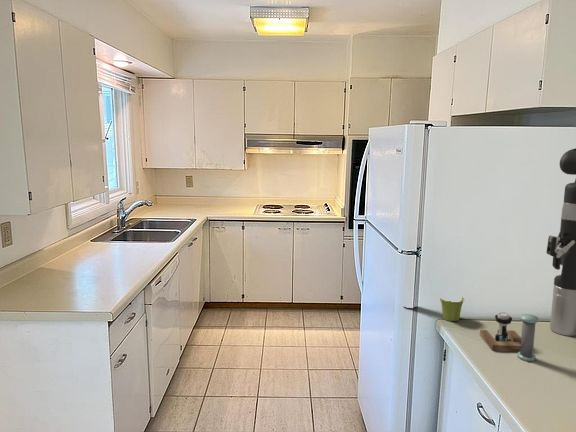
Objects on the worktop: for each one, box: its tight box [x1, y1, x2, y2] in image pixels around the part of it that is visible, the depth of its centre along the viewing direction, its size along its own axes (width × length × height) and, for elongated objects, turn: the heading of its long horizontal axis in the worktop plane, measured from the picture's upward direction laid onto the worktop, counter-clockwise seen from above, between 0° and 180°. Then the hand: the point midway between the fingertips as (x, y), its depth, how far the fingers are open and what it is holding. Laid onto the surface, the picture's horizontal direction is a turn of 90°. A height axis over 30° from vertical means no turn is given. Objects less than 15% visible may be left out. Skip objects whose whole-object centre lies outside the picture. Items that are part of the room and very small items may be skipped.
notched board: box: [479, 329, 521, 352], centre depth 151 cm, size 12×12×2 cm
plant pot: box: [438, 296, 465, 322], centre depth 172 cm, size 9×9×9 cm
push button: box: [494, 312, 513, 342], centre depth 152 cm, size 7×5×10 cm
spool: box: [517, 313, 539, 363], centre depth 140 cm, size 5×5×14 cm
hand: (571, 269), depth 135 cm, fingers open, 8 cm apart
